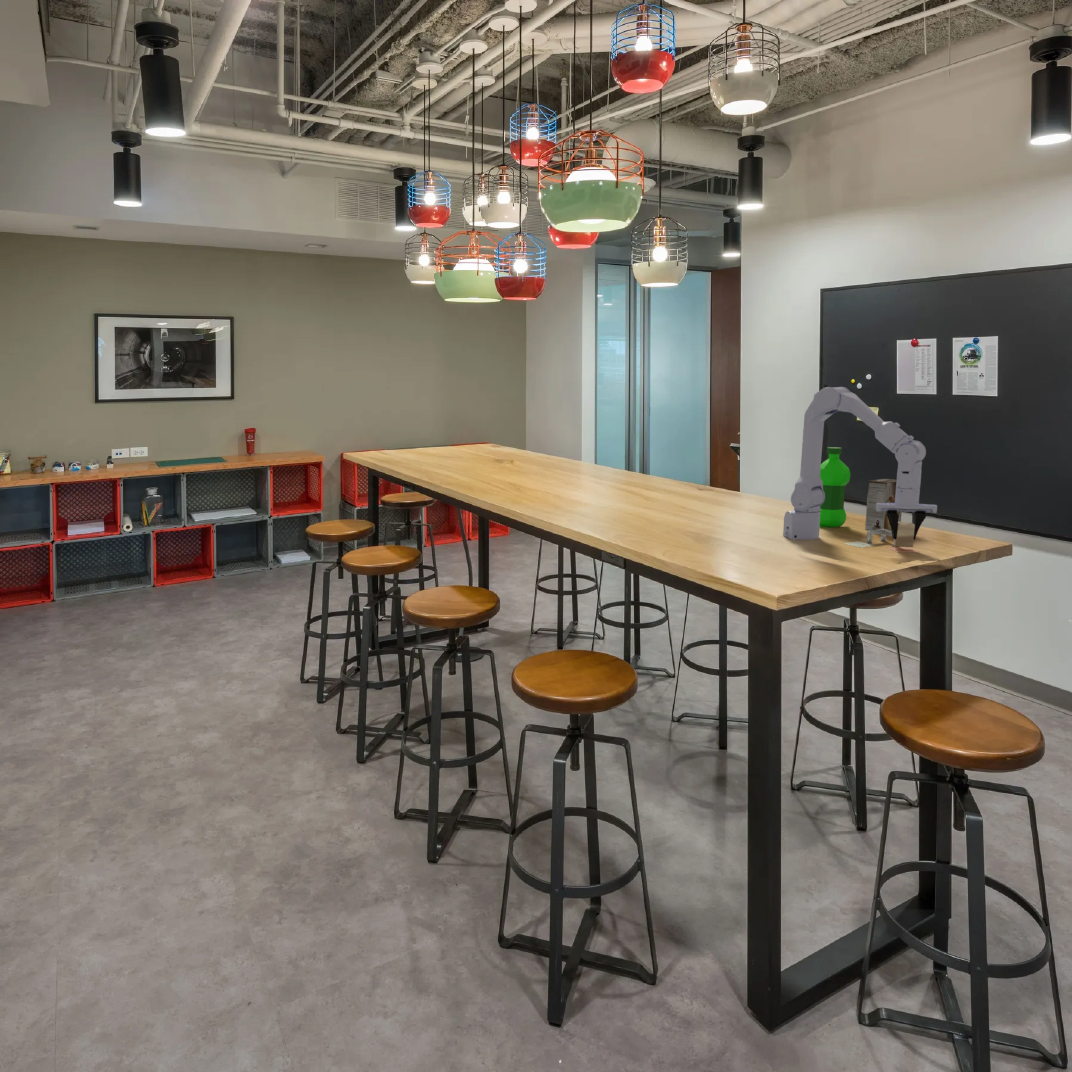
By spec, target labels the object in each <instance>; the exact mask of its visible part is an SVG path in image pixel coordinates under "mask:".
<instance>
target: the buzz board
mask: <svg viewBox="0 0 1072 1072" xmlns="http://www.w3.org/2000/svg"><path fill="white" fill-rule="evenodd" d="M843 544H844V545H847V546H853V547H856V548H857V547H858V548H866V547H867V548H868V547H873V546H876V544H873V543H871V544H868V543H866V542H862V541H853V542H852V541H851V542H845V543H843ZM887 549H889V550H891V551H894V552H895V553H919V551H918V550H917V549H913V547H893V546H892V547H889V546H888V547H887Z"/></svg>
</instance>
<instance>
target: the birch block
mask: <svg viewBox="0 0 1072 1072" xmlns="http://www.w3.org/2000/svg"><path fill="white" fill-rule="evenodd" d="M914 529H915V525H914V524H913V523H912V521H901V522H898V525H897V538H896V539H893V543H892V544H894V545H895V546H896V547H909V548H914V541H915V540H914Z"/></svg>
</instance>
